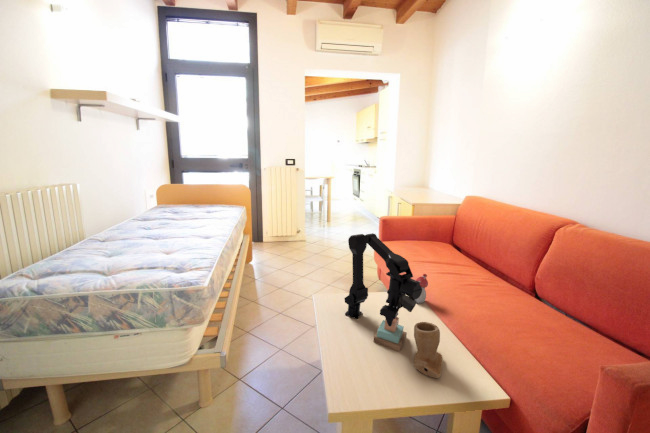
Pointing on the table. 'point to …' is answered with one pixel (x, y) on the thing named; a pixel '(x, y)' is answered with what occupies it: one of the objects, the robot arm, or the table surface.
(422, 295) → the decorative ornament
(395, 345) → the tower base
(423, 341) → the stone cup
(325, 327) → the table surface
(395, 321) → the terracotta cube
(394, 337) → the tower top
